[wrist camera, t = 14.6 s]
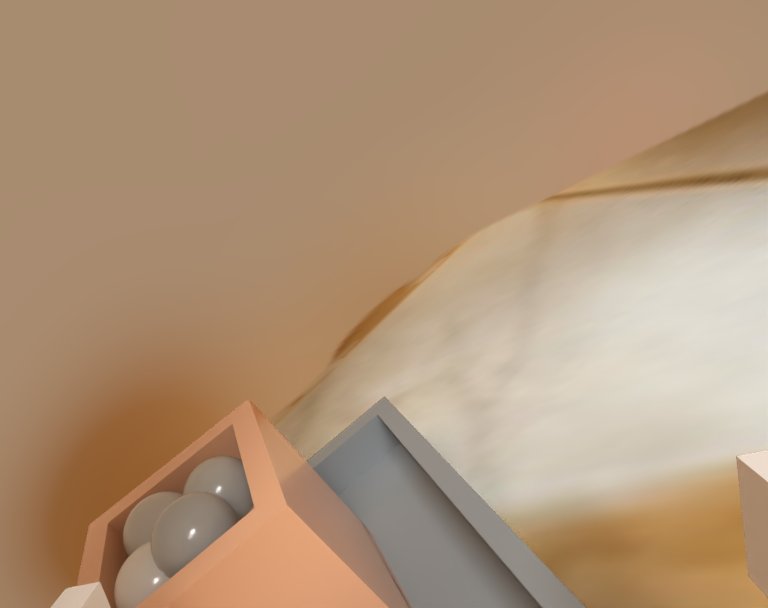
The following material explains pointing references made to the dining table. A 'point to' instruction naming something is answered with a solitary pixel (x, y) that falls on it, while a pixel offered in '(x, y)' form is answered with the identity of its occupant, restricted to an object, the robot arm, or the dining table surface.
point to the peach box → (237, 532)
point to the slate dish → (432, 520)
